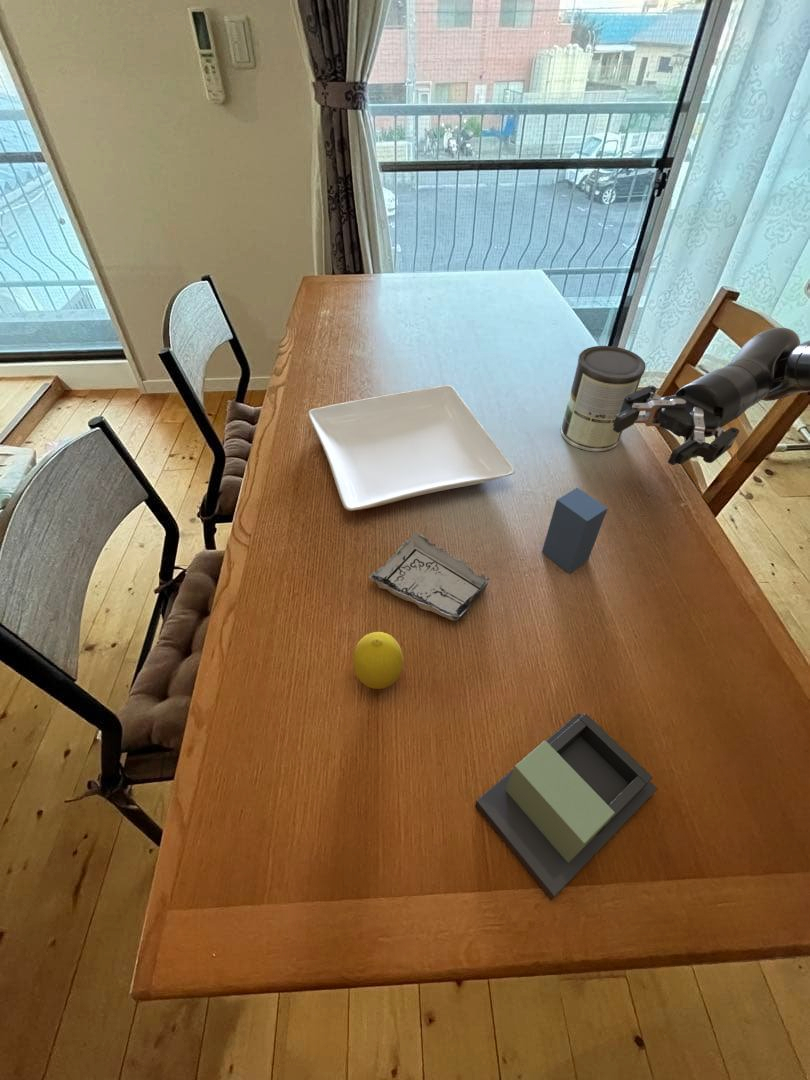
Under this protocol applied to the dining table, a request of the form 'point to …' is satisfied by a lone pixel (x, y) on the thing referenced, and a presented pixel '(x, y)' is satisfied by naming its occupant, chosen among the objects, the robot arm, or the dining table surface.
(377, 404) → the square plate
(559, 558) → the blue rectangular block
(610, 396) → the coffee can
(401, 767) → the dining table surface
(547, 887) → the seat frame
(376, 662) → the lemon
